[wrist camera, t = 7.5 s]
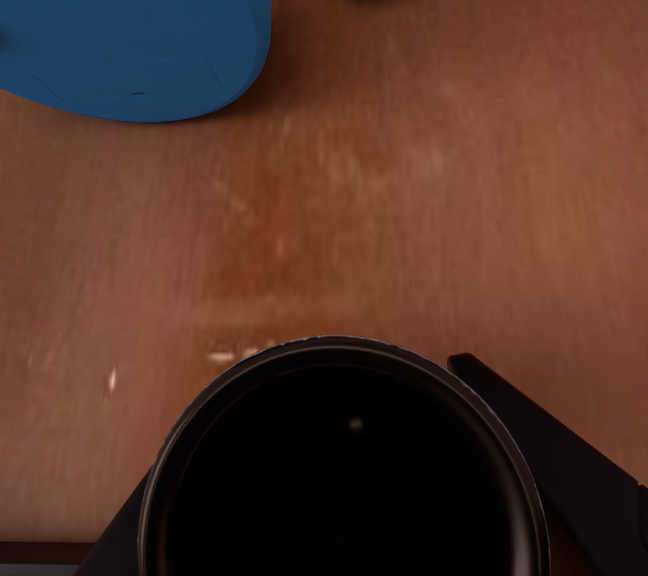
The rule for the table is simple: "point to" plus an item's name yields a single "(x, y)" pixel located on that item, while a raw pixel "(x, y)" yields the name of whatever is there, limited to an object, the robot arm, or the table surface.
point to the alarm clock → (133, 55)
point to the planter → (340, 473)
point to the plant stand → (41, 558)
